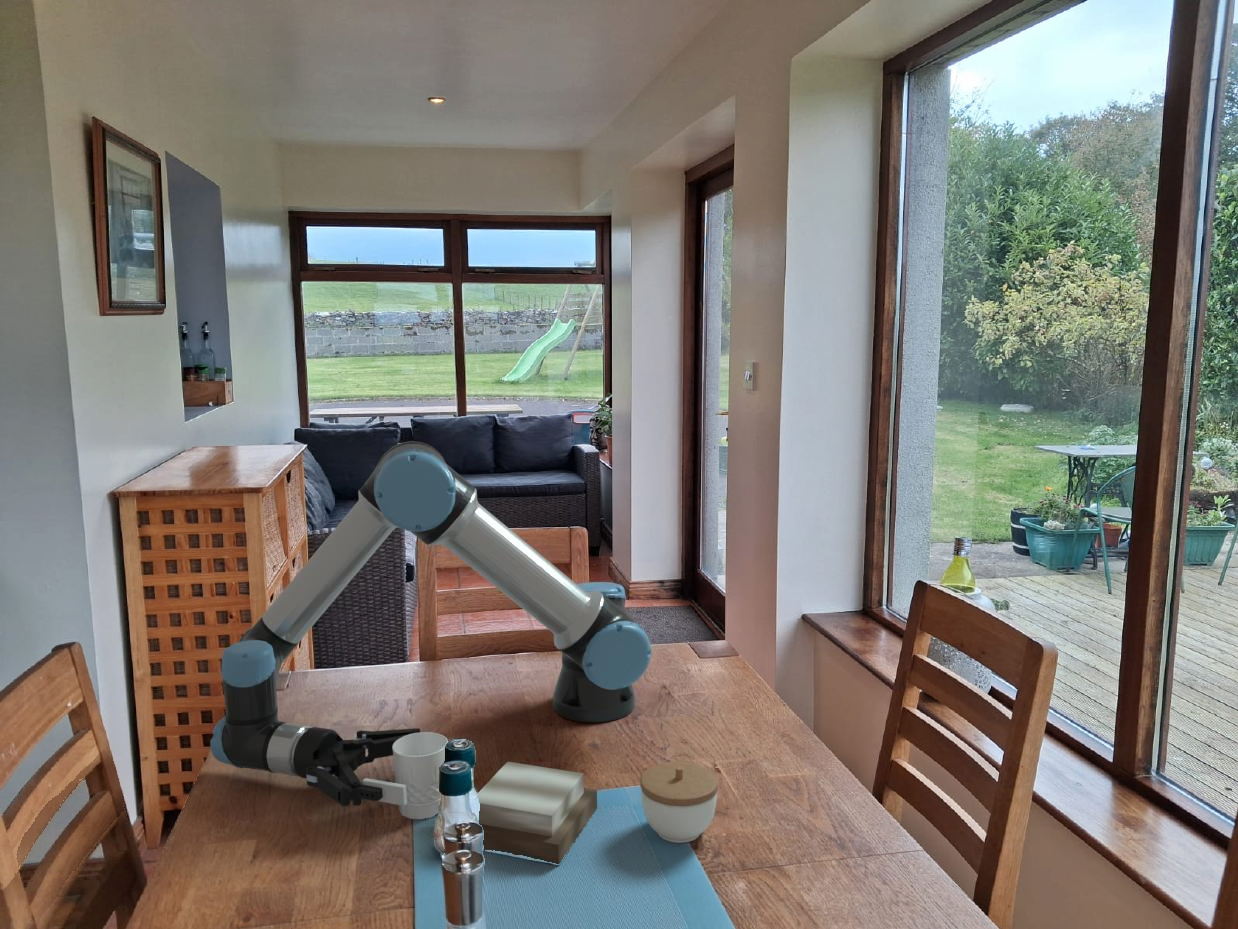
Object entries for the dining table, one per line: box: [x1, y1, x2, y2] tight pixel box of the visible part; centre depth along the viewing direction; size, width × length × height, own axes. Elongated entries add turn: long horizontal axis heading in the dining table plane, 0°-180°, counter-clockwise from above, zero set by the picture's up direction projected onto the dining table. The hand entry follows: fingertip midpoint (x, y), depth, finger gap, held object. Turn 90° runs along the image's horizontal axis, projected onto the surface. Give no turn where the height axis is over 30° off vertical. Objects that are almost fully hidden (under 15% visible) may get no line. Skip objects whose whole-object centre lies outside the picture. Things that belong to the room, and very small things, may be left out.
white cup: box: [392, 731, 449, 820], centre depth 134 cm, size 8×8×10 cm
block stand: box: [477, 761, 598, 864], centre depth 129 cm, size 15×15×6 cm
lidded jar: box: [640, 761, 719, 844], centre depth 128 cm, size 11×11×9 cm
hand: (430, 772), depth 133 cm, fingers open, 13 cm apart
